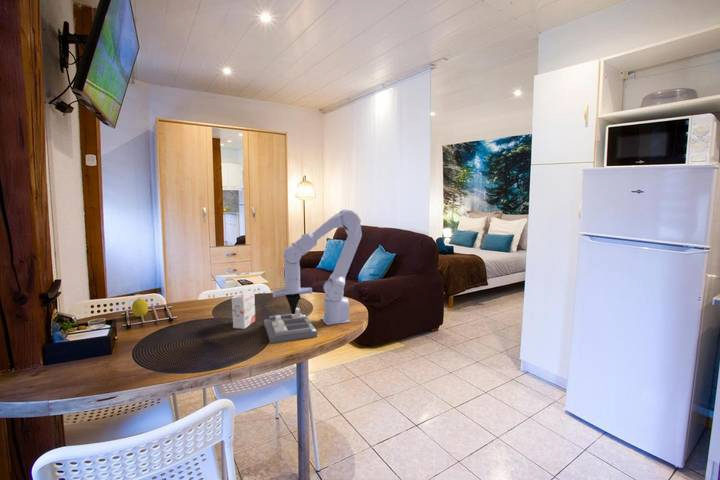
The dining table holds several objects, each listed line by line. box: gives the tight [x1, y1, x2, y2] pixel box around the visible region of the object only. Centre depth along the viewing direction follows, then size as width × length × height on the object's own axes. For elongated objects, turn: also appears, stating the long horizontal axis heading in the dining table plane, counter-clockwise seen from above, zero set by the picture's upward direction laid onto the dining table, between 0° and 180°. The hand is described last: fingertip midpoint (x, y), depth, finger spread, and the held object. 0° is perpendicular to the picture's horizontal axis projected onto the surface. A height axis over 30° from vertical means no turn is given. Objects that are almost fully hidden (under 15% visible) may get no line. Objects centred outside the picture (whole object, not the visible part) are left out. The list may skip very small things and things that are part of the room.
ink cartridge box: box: [231, 284, 256, 330], centre depth 133 cm, size 9×5×15 cm, turn 168°
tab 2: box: [274, 320, 288, 334], centre depth 121 cm, size 4×4×4 cm
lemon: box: [131, 297, 149, 318], centre depth 140 cm, size 6×6×8 cm
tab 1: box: [272, 314, 285, 329], centre depth 126 cm, size 4×4×4 cm
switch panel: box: [263, 312, 318, 344], centre depth 128 cm, size 16×18×3 cm
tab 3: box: [291, 307, 304, 319], centre depth 134 cm, size 4×4×4 cm
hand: (293, 313), depth 134 cm, fingers closed
